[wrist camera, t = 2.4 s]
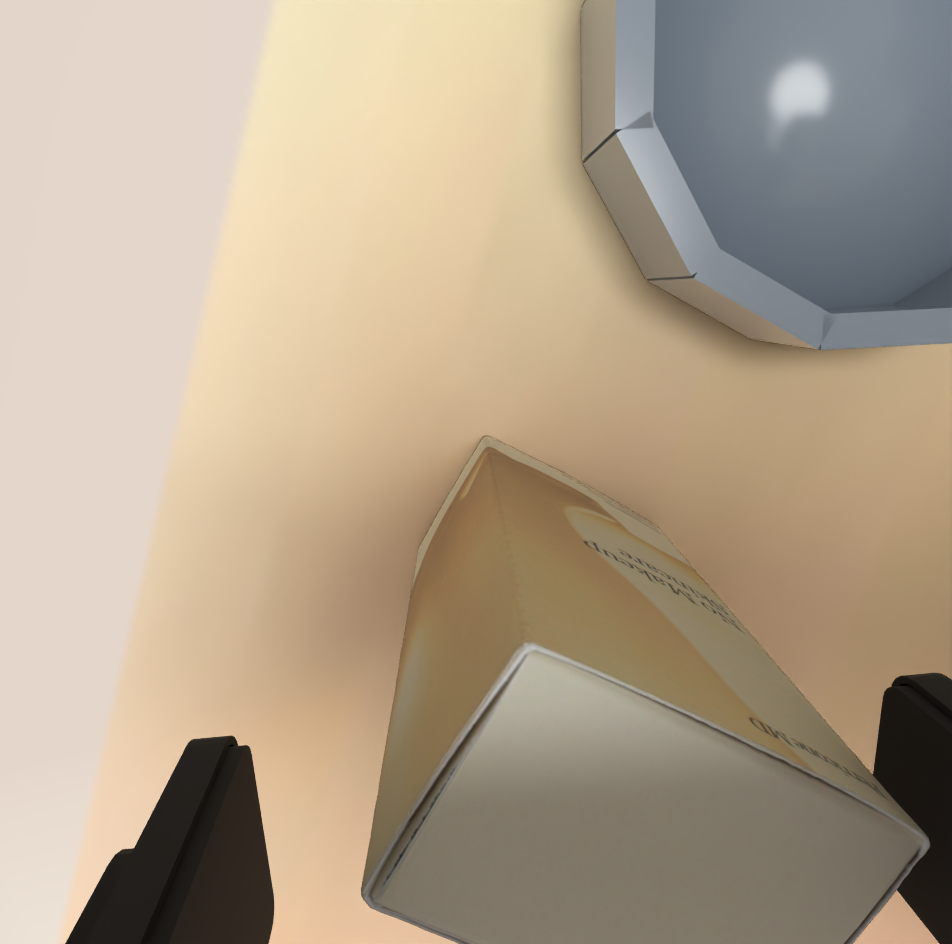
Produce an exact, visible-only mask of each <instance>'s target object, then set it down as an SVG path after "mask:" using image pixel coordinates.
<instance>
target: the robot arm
mask: <svg viewBox="0 0 952 944" xmlns="http://www.w3.org/2000/svg"><path fill="white" fill-rule="evenodd" d="M873 776H874V777H875V778H876V780H877V781H878V782H879V783H880V784H881V785H882V786H883V788H884V789H885V790H886V791H887V792H888V793H889V794H890V796H891V797H892V798H893V799H894V800H895V801H896V802H897V803H898V805H899V806H900V807H901V808H902V809H903V810H904V811H905V812H906V813H907V814H908V815H909V817H910V818H911V819H912V820H913V821H914V822H915V823H916V824H917V825H918V826H919V827H920V828H921V830H922V831H923V832H924V833H925V834H926V835H927V837H928V838H929V842H930V847H929V849H928V850H927V852H926V853H925V855H924V856H923V857H921V858H920V859H919V861H918V862H917V863H916V864H915V865H914V866H913V868H912V869H911V871H910V872H909V874H908V875H907V876H906V877H905V878H904V879H903V881H902V883H901V884H900V886H899V887H898V889H897V891H898V892H899V893H900V894H901V896H902V897H903V898H904V899H905V901H906V902H907V903H908V904H909V906H910V907H911V908H912V909H913V911H914V912H915V913H916V914H917V916H918V917H919V918H920V920H921V921H922V922H923V923H924V925H925V926H926V927H927V928H928V930H929V931H930V932H931V933H932V935H933V936H934V937H935V938H936V940H937V941H938V942H939V943H940V944H952V680H951V679H950V678H948V677H947V676H945V675H943V674H940V673H928V674H917V675H905V676H900V677H897V678H896V679H895V680H894V682H893V683H892V687H890V688H887V689H886V691H885V692H884V696H883V702H882V710H881V717H880V725H879V733H878V741H877V749H876V757H875V764H874V772H873ZM273 918H274V895H273V888H272V882H271V875H270V869H269V863H268V856H267V850H266V843H265V837H264V831H263V824H262V818H261V812H260V805H259V799H258V792H257V786H256V780H255V773H254V767H253V760H252V754H251V750H250V748H249V746H247V745H244V746H238V744H237V741H236V739H235V737H233V736H223V737H212V738H201V739H193V740H191V741H190V742H189V743H188V745H187V746H186V748H185V750H184V752H183V754H182V756H181V758H180V760H179V762H178V764H177V766H176V768H175V769H174V771H173V773H172V775H171V777H170V779H169V781H168V783H167V785H166V787H165V789H164V791H163V793H162V795H161V797H160V799H159V801H158V803H157V805H156V807H155V809H154V811H153V812H152V814H151V816H150V818H149V820H148V822H147V824H146V826H145V828H144V830H143V832H142V834H141V836H140V838H139V840H138V842H137V844H136V846H135V848H133V849H123V850H121V851H120V852H118V853H117V854H116V855H115V856H114V857H113V859H112V860H111V862H110V863H109V864H108V866H107V868H106V870H105V872H104V873H103V875H102V877H101V879H100V881H99V883H98V884H97V886H96V888H95V890H94V892H93V894H92V895H91V897H90V899H89V901H88V903H87V905H86V907H85V908H84V910H83V912H82V914H81V916H80V918H79V919H78V921H77V923H76V925H75V927H74V929H73V931H72V932H71V934H70V936H69V938H68V940H67V942H66V943H65V944H268V943H269V939H270V935H271V930H272V925H273Z"/></svg>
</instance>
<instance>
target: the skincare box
mask: <svg viewBox="0 0 952 944" xmlns="http://www.w3.org/2000/svg"><path fill="white" fill-rule="evenodd" d="M929 847H930V842H929V838H928V837H927V835H926V834H925V833H924V832H923V831H922V830H921V828H920V827H919V826H918V825H917V824H916V823H915V822H914V821H913V820H912V819H911V818H910V817H909V815H908V814H907V813H906V812H905V811H904V810H903V809H902V808H901V807H900V806H899V805H898V803H897V802H896V801H895V800H894V799H893V798H892V797H891V796H890V794H889V793H888V792H887V791H886V790H885V789H884V788H883V786H882V785H881V784H880V783H879V782H878V781H877V780H876V778H875V777H874V776H873V775H872V774H871V773H870V771H869V770H868V769H867V768H866V767H865V766H864V764H863V763H862V762H861V761H860V760H859V758H858V757H857V756H856V755H855V754H854V753H853V752H852V751H851V750H850V748H849V747H848V746H847V745H846V744H845V743H844V741H843V740H842V739H841V738H840V737H839V736H838V735H837V733H836V732H835V731H834V730H833V729H832V728H831V727H830V726H829V724H828V723H827V722H826V721H825V720H824V719H823V718H822V716H821V715H820V714H819V713H818V712H817V711H816V709H815V708H814V707H813V706H812V705H811V704H810V702H809V701H808V700H807V699H806V698H805V697H804V695H803V694H802V693H801V692H800V691H799V690H798V688H797V687H796V686H795V685H794V684H793V683H792V681H791V680H790V679H789V678H788V677H787V676H786V675H785V673H784V672H783V671H782V670H781V669H780V668H779V666H778V665H777V664H776V663H775V662H774V661H773V660H772V658H771V657H770V656H769V655H768V654H767V653H766V652H765V650H764V649H763V648H762V647H761V646H760V645H759V644H758V642H757V641H756V640H755V639H754V638H753V636H752V635H751V634H750V633H749V632H748V631H747V629H746V628H745V627H744V626H743V625H742V624H741V622H740V621H739V620H738V619H737V618H736V617H735V616H734V614H733V613H732V612H731V611H730V610H729V608H728V607H727V606H726V605H725V604H724V603H723V602H722V601H721V599H720V598H719V597H718V596H717V595H716V594H715V593H714V591H713V590H712V589H711V588H710V587H709V586H708V585H707V584H706V582H705V581H704V580H703V579H702V578H701V577H700V575H699V574H698V573H697V572H696V571H695V569H694V568H693V567H692V566H691V565H690V564H689V562H688V561H687V560H686V559H685V558H684V557H683V555H682V554H681V553H680V552H679V551H678V550H677V548H676V547H675V546H674V545H673V544H672V543H671V541H670V540H669V539H668V538H667V537H666V536H665V534H664V533H663V532H662V531H661V530H660V529H659V528H658V527H657V526H656V525H654V524H652V523H651V522H649V521H647V520H646V519H644V518H642V517H641V516H639V515H637V514H636V513H634V512H632V511H631V510H629V509H627V508H626V507H624V506H622V505H620V504H619V503H617V502H615V501H614V500H612V499H610V498H608V497H606V496H605V495H603V494H601V493H599V492H597V491H596V490H594V489H592V488H590V487H588V486H586V485H585V484H583V483H581V482H579V481H577V480H575V479H574V478H572V477H570V476H568V475H566V474H564V473H562V472H560V471H558V470H556V469H554V468H552V467H550V466H548V465H546V464H544V463H542V462H540V461H538V460H536V459H534V458H532V457H530V456H528V455H526V454H524V453H522V452H520V451H518V450H516V449H514V448H512V447H510V446H508V445H506V444H504V443H502V442H500V441H498V440H496V439H494V438H491V437H489V436H485V437H483V439H482V440H481V441H480V443H479V445H478V447H477V448H476V450H475V451H474V453H473V455H472V456H471V458H470V459H469V461H468V463H467V464H466V466H465V468H464V469H463V471H462V473H461V474H460V476H459V478H458V480H457V481H456V483H455V485H454V486H453V488H452V490H451V491H450V493H449V495H448V496H447V498H446V500H445V502H444V503H443V505H442V507H441V508H440V510H439V512H438V514H437V516H436V518H435V519H434V521H433V523H432V525H431V527H430V528H429V530H428V532H427V534H426V535H425V537H424V539H423V541H422V543H421V545H420V547H419V550H418V555H417V562H416V568H415V574H414V579H413V585H412V590H411V596H410V603H409V610H408V616H407V622H406V628H405V633H404V639H403V644H402V650H401V655H400V663H399V670H398V676H397V681H396V689H395V695H394V700H393V706H392V712H391V717H390V723H389V729H388V735H387V740H386V746H385V752H384V758H383V764H382V770H381V777H380V783H379V790H378V796H377V801H376V806H375V811H374V818H373V825H372V831H371V838H370V843H369V849H368V854H367V860H366V865H365V870H364V876H363V881H362V887H361V896H362V898H363V899H364V901H365V902H366V903H367V904H368V905H369V907H370V908H372V909H374V910H377V911H379V912H381V913H384V914H386V915H389V916H392V917H395V918H398V919H400V920H403V921H405V922H408V923H410V924H413V925H415V926H417V927H419V928H421V929H424V930H426V931H429V932H431V933H434V934H436V935H439V936H441V937H444V938H446V939H449V940H451V941H454V942H456V943H459V944H853V943H854V942H855V940H856V939H857V938H858V937H859V935H860V934H861V933H862V932H863V930H864V929H865V928H866V927H867V926H868V924H869V923H870V922H871V921H872V920H873V919H874V917H875V916H876V915H877V914H878V913H879V912H880V910H881V909H882V908H883V907H884V905H885V904H886V903H887V902H888V900H889V899H890V898H891V897H892V895H893V894H894V893H895V891H896V890H897V889H898V887H899V886H900V884H901V883H902V881H903V879H904V878H905V877H906V876H907V875H908V874H909V872H910V871H911V869H912V868H913V866H914V865H915V864H916V863H917V862H918V861H919V859H920V858H921V857H923V856H924V855H925V853H926V852H927V850H928V849H929Z"/></svg>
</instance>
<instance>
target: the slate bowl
mask: <svg viewBox="0 0 952 944" xmlns="http://www.w3.org/2000/svg"><path fill="white" fill-rule="evenodd" d="M581 103H582V161H586V162H584V163H583V166H584V168H585V169H586V171H587V173H588V175H589V177H590V178H591V180H592V182H593V184H594V186H595V188H596V189H597V191H598V193H599V195H600V197H601V199H602V200H603V202H604V204H605V206H606V208H607V210H608V211H609V213H610V215H611V217H612V219H613V221H614V222H615V224H616V226H617V228H618V230H619V231H620V233H621V235H622V237H623V239H624V241H625V242H626V244H627V246H628V248H629V250H630V252H631V253H632V255H633V257H634V259H635V261H636V263H637V264H638V266H639V268H640V270H641V272H642V274H643V275H644V277H645V279H648V282H650V283H652V284H654V285H655V286H657V287H659V288H661V289H662V290H664V291H666V292H668V293H670V294H671V295H673V296H675V297H677V298H678V299H680V300H682V301H684V302H686V303H687V304H689V305H691V306H693V307H694V308H696V309H698V310H700V311H702V312H703V313H705V314H707V315H709V316H710V317H712V318H714V319H716V320H717V321H719V322H721V323H723V324H725V325H726V326H728V327H730V328H732V329H733V330H735V331H737V332H739V333H741V334H742V335H744V336H746V337H748V338H749V339H753V340H758V341H765V342H771V343H778V344H785V345H791V346H798V347H804V348H811V349H818V350H830V349H849V348H868V347H887V346H906V345H926V344H945V343H952V0H585V2H584V4H583V6H582V10H581Z"/></svg>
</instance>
